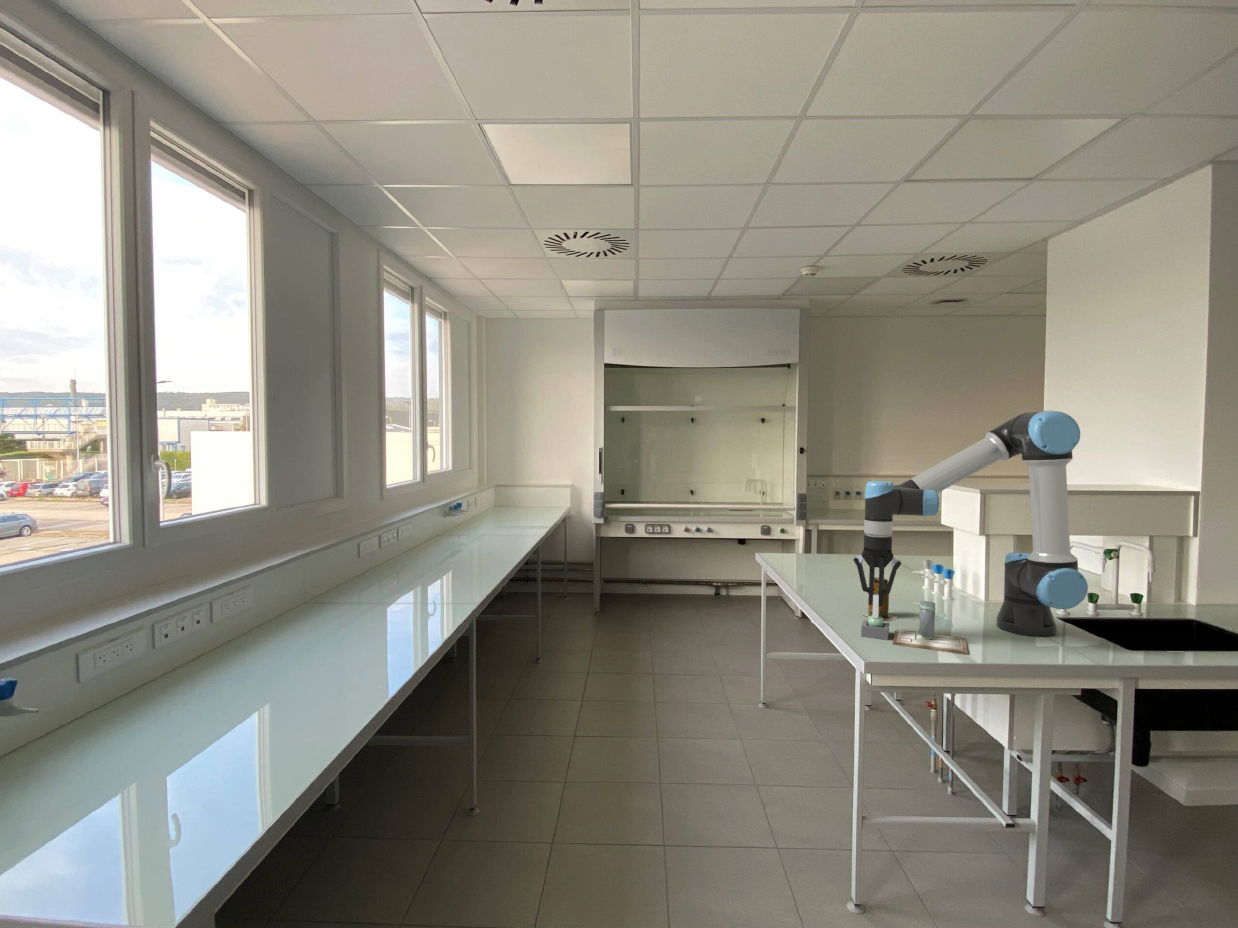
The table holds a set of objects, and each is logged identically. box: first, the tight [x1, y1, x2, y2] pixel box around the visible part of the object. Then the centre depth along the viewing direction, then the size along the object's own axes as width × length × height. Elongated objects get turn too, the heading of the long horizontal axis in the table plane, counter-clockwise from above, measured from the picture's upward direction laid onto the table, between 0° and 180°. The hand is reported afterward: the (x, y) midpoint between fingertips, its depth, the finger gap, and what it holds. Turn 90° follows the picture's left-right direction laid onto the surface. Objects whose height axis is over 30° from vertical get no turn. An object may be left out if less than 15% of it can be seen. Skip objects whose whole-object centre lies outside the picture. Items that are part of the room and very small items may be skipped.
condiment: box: [863, 577, 899, 621], centre depth 203 cm, size 7×8×12 cm
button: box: [867, 616, 884, 628], centre depth 183 cm, size 4×4×3 cm
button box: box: [860, 619, 890, 641], centre depth 183 cm, size 7×7×3 cm
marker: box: [918, 600, 936, 640], centre depth 178 cm, size 4×4×10 cm
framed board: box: [892, 628, 968, 656], centre depth 177 cm, size 18×14×1 cm
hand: (875, 616), depth 183 cm, fingers closed
